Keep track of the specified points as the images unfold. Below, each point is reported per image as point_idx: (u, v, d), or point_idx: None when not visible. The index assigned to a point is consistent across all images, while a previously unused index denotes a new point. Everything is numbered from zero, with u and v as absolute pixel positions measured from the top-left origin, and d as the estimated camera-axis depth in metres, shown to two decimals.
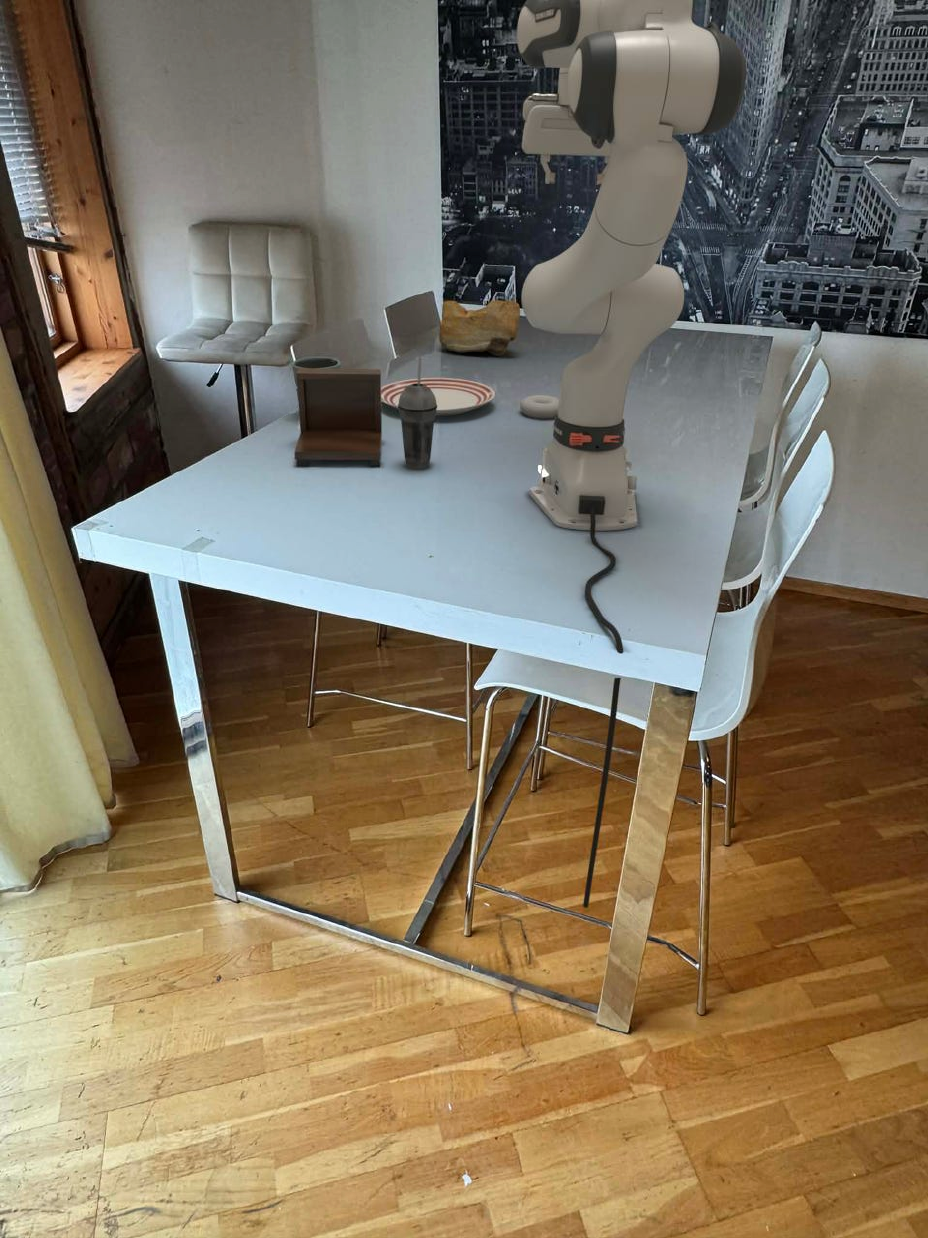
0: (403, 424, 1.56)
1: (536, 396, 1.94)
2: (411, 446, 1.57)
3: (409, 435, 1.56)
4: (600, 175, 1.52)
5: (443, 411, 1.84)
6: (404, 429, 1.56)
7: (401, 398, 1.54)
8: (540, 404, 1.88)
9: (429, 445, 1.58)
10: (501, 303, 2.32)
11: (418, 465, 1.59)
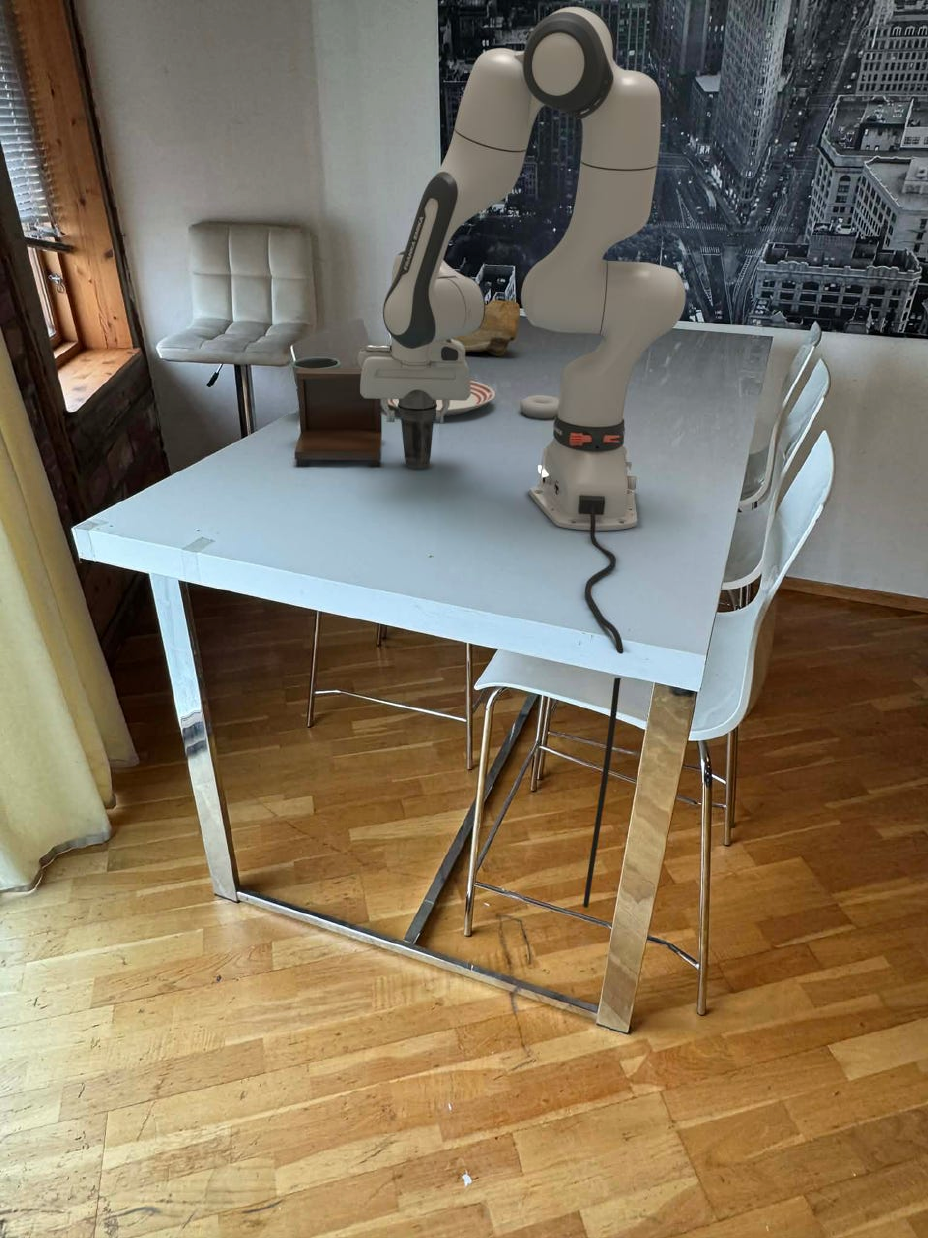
0: (403, 424, 1.56)
1: (536, 396, 1.94)
2: (411, 445, 1.57)
3: (409, 434, 1.56)
4: (436, 415, 1.57)
5: None
6: (404, 428, 1.57)
7: None
8: (540, 404, 1.88)
9: (429, 444, 1.58)
10: (501, 303, 2.32)
11: (418, 464, 1.59)
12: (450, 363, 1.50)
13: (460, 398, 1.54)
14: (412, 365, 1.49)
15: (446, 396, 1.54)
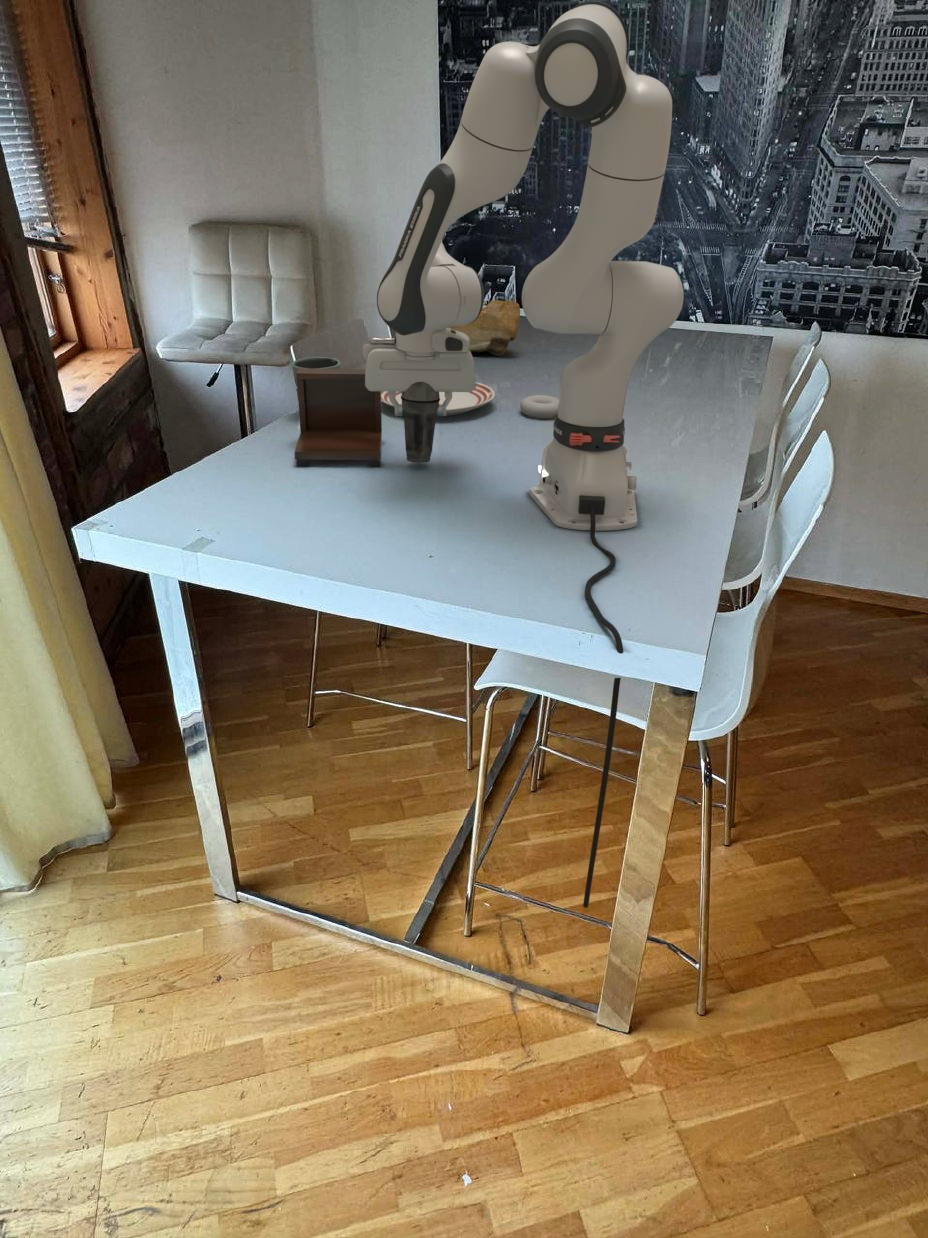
0: (405, 416, 1.55)
1: (536, 396, 1.94)
2: (412, 438, 1.56)
3: (411, 427, 1.55)
4: (439, 408, 1.56)
5: None
6: (406, 420, 1.56)
7: None
8: (540, 404, 1.88)
9: (431, 438, 1.57)
10: (501, 303, 2.32)
11: (419, 458, 1.58)
12: (455, 354, 1.49)
13: (465, 389, 1.53)
14: (416, 356, 1.49)
15: (451, 388, 1.53)
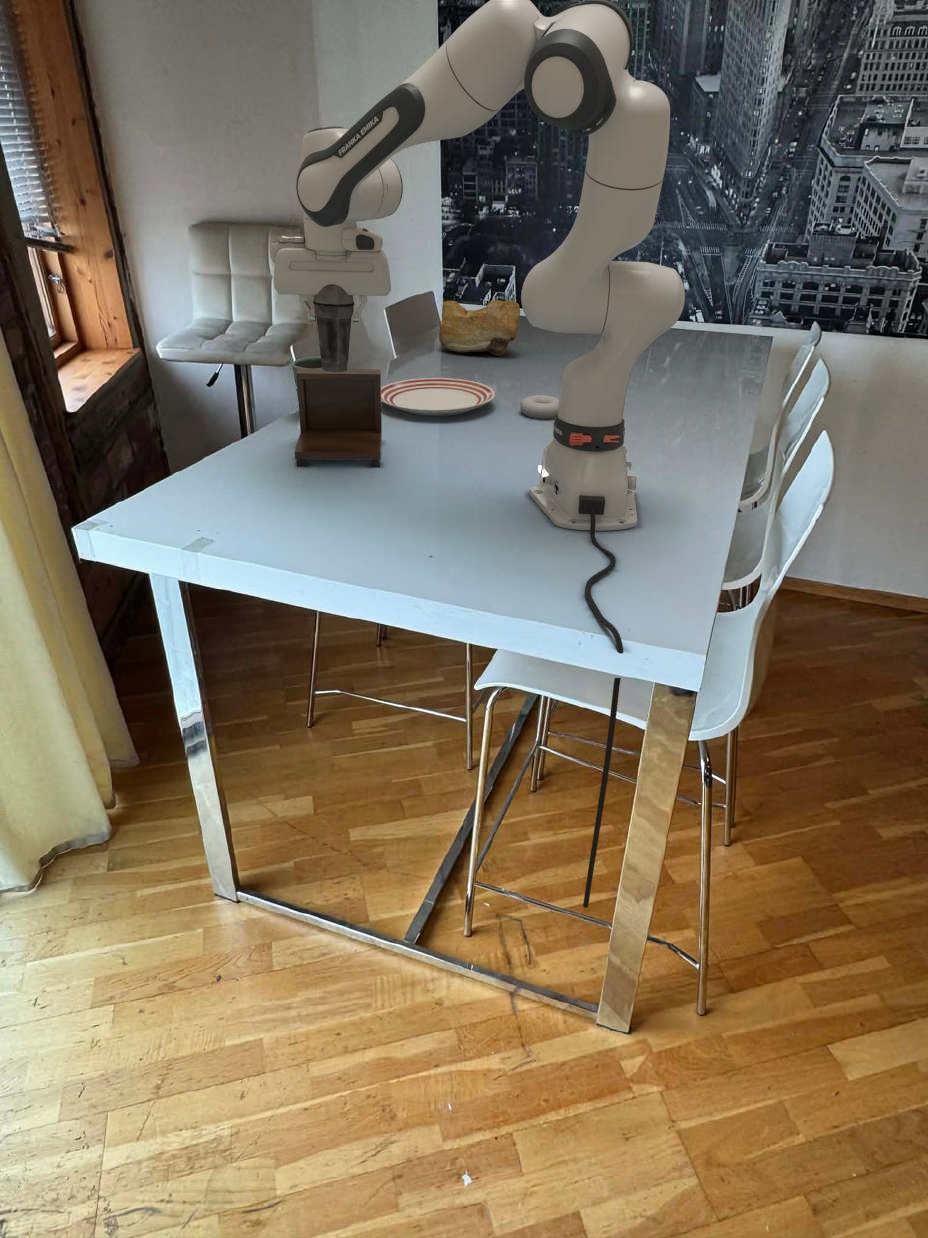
0: (318, 321, 1.49)
1: (536, 396, 1.94)
2: (326, 345, 1.50)
3: (324, 333, 1.49)
4: (353, 313, 1.49)
5: (443, 411, 1.84)
6: (319, 326, 1.50)
7: None
8: (540, 404, 1.88)
9: (346, 346, 1.52)
10: (501, 303, 2.32)
11: (334, 367, 1.52)
12: (367, 253, 1.43)
13: (380, 293, 1.47)
14: (326, 255, 1.42)
15: (365, 291, 1.47)
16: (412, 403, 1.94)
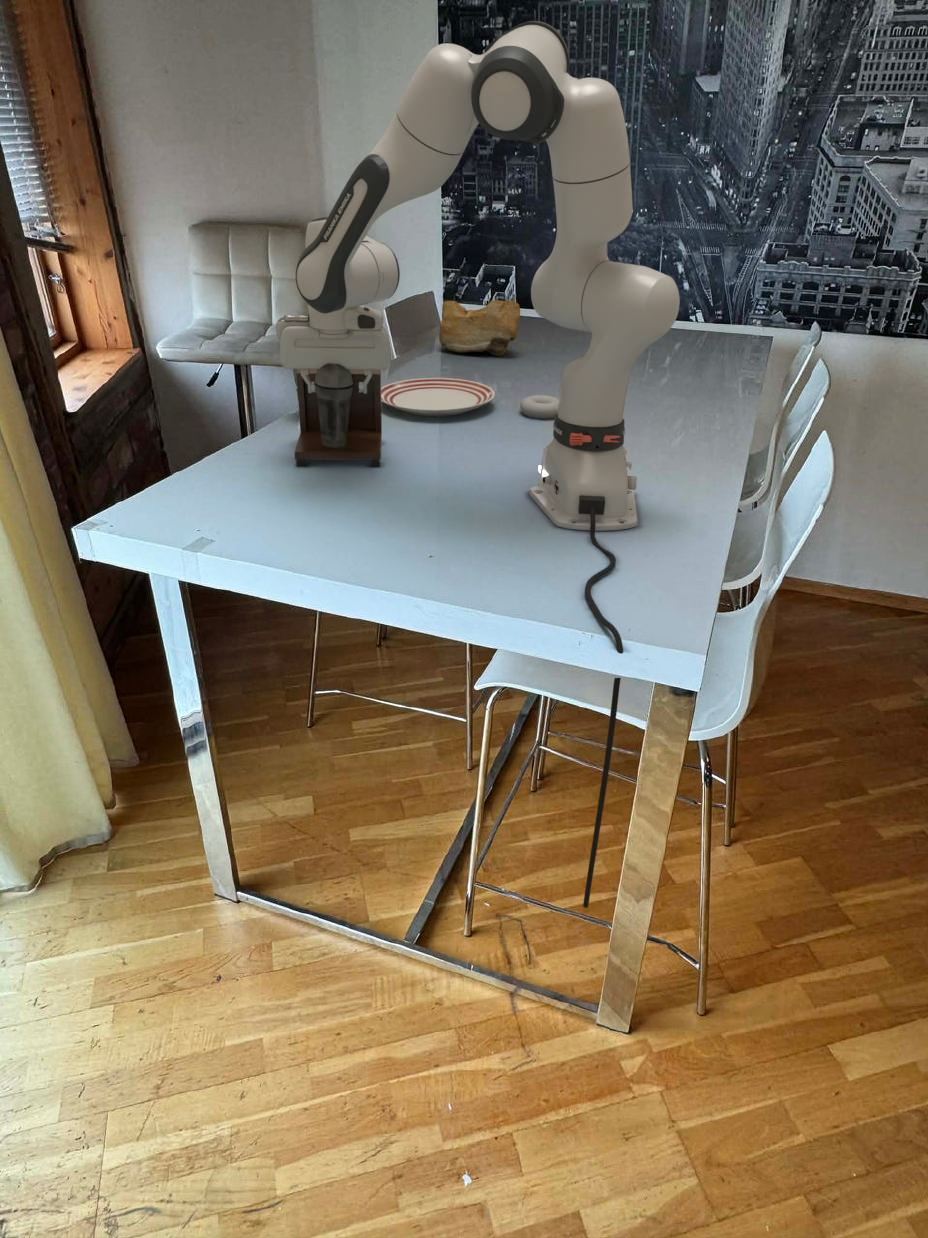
0: (319, 401, 1.56)
1: (536, 396, 1.94)
2: (326, 423, 1.57)
3: (324, 412, 1.56)
4: (359, 385, 1.56)
5: (443, 411, 1.84)
6: (319, 406, 1.56)
7: (317, 375, 1.54)
8: (540, 404, 1.88)
9: (345, 424, 1.58)
10: (501, 303, 2.32)
11: (333, 443, 1.59)
12: (368, 332, 1.50)
13: (381, 367, 1.54)
14: (329, 334, 1.49)
15: (366, 365, 1.54)
16: (412, 403, 1.94)
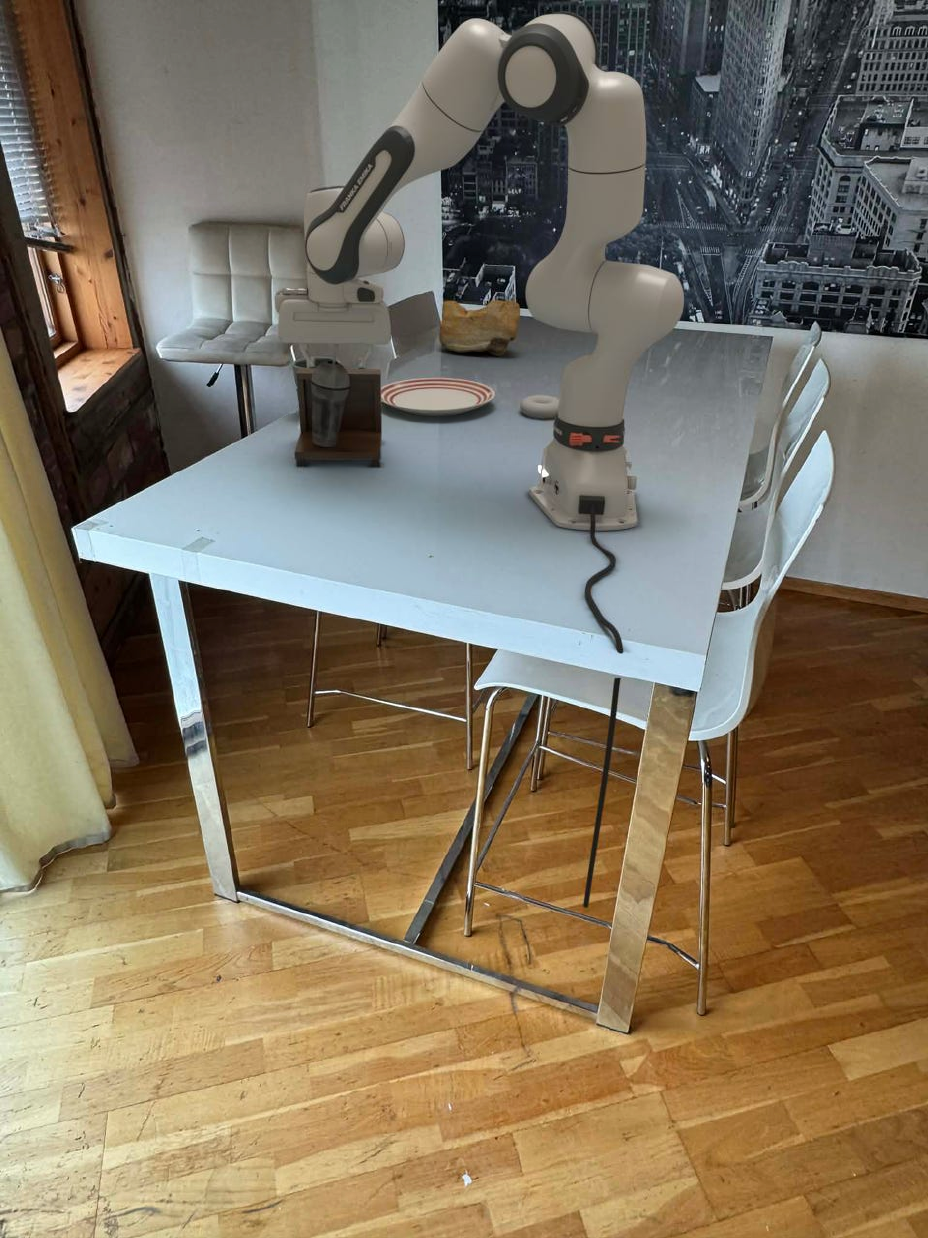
0: (313, 399, 1.56)
1: (536, 396, 1.94)
2: (319, 422, 1.57)
3: (318, 411, 1.56)
4: (359, 360, 1.55)
5: (443, 411, 1.84)
6: (314, 404, 1.56)
7: (314, 373, 1.53)
8: (540, 404, 1.88)
9: (337, 424, 1.58)
10: (501, 303, 2.32)
11: (324, 442, 1.59)
12: (367, 305, 1.48)
13: (380, 342, 1.52)
14: (329, 307, 1.47)
15: (366, 340, 1.52)
16: (412, 403, 1.94)
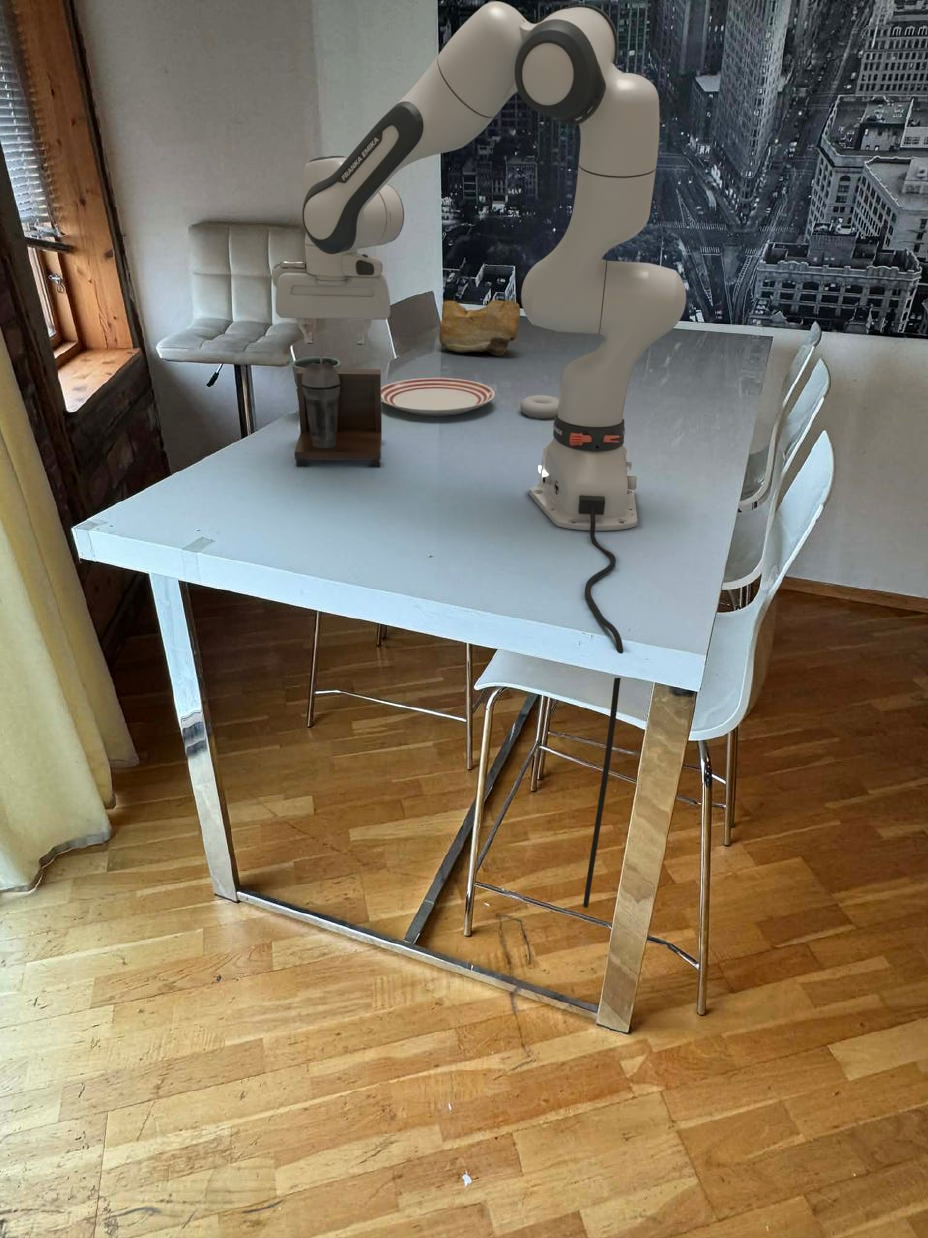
0: (307, 402, 1.56)
1: (536, 396, 1.94)
2: (315, 424, 1.57)
3: (313, 413, 1.56)
4: (358, 336, 1.52)
5: (443, 411, 1.84)
6: (307, 406, 1.56)
7: (303, 376, 1.54)
8: (540, 404, 1.88)
9: (334, 423, 1.58)
10: (501, 303, 2.32)
11: (323, 443, 1.59)
12: (366, 279, 1.46)
13: (379, 317, 1.50)
14: (327, 280, 1.45)
15: (365, 315, 1.50)
16: (412, 403, 1.94)
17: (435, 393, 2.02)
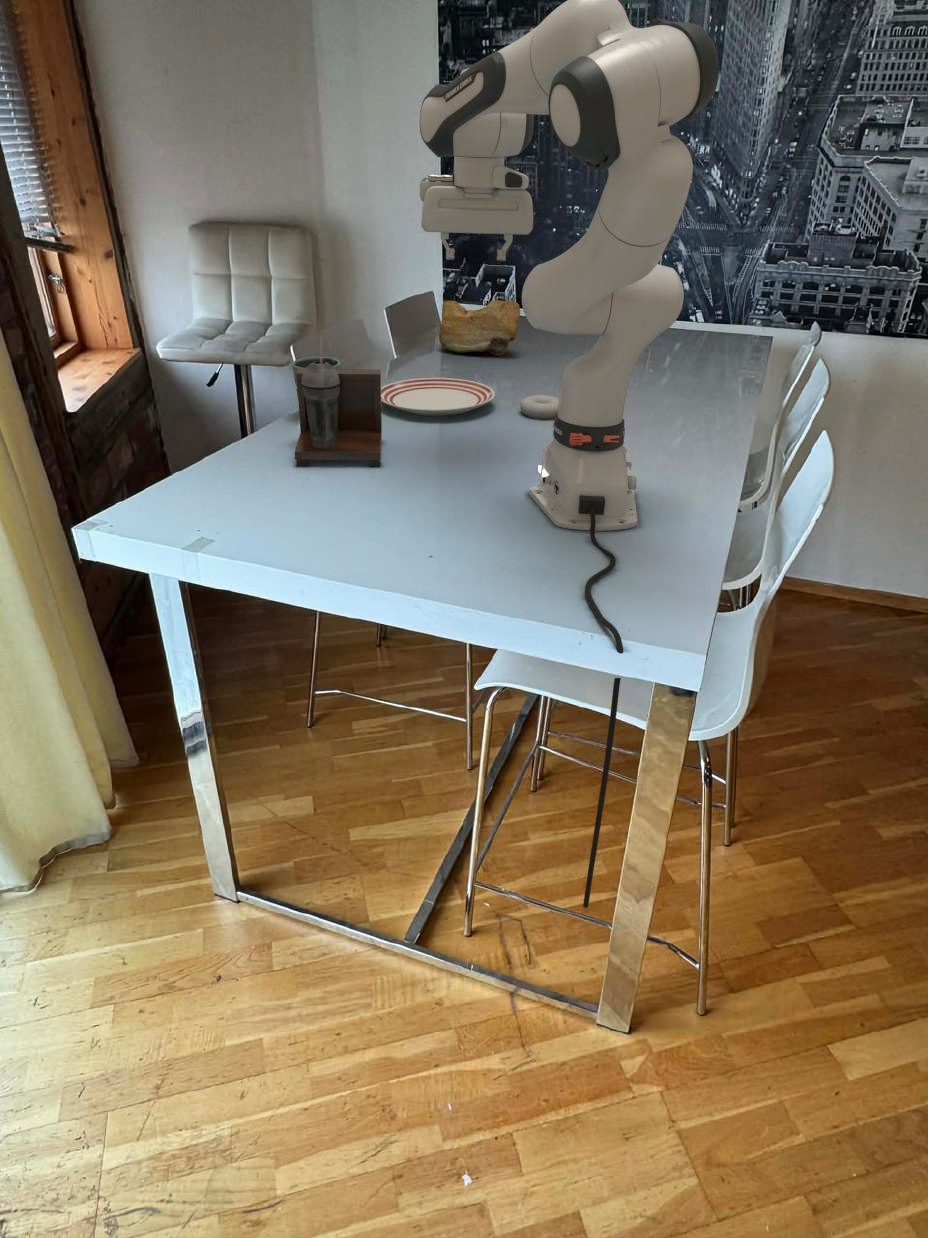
0: (306, 402, 1.56)
1: (536, 396, 1.94)
2: (315, 424, 1.57)
3: (313, 413, 1.56)
4: (499, 251, 1.55)
5: (443, 411, 1.84)
6: (307, 406, 1.56)
7: (303, 376, 1.54)
8: (540, 404, 1.88)
9: (334, 423, 1.58)
10: (501, 303, 2.32)
11: (323, 443, 1.59)
12: (514, 191, 1.48)
13: (522, 231, 1.52)
14: (475, 193, 1.48)
15: (508, 229, 1.52)
16: (412, 403, 1.94)
17: (435, 393, 2.02)
